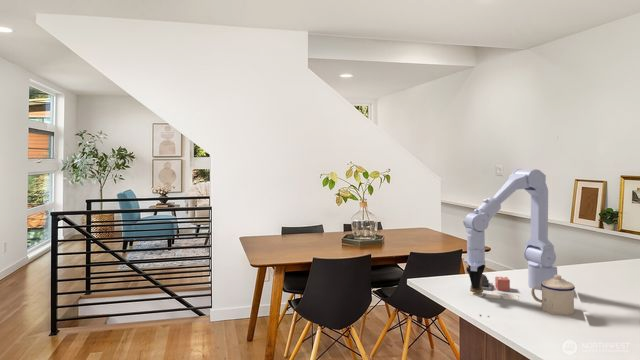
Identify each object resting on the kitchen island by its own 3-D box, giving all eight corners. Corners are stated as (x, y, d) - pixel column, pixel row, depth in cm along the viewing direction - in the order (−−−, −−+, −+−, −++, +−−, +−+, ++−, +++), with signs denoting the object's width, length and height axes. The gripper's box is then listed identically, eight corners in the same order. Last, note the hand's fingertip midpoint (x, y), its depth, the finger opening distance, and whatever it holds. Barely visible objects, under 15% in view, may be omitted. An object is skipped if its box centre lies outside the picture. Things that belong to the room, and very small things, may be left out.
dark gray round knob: (489, 285, 159) (489, 273, 158) (488, 289, 154) (488, 276, 154) (475, 284, 161) (475, 271, 160) (474, 287, 156) (473, 275, 156)
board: (521, 290, 155) (521, 285, 155) (520, 306, 139) (520, 300, 139) (468, 285, 163) (468, 280, 163) (462, 299, 147) (462, 294, 147)
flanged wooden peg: (483, 290, 151) (483, 274, 150) (482, 293, 147) (482, 277, 146) (470, 288, 152) (471, 272, 152) (469, 291, 149) (469, 275, 148)
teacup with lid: (577, 311, 133) (577, 274, 132) (570, 320, 126) (571, 281, 126) (535, 303, 141) (535, 268, 140) (527, 311, 134) (527, 274, 134)
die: (507, 287, 156) (507, 276, 156) (509, 291, 152) (509, 279, 152) (495, 287, 157) (495, 275, 156) (497, 290, 153) (497, 278, 153)
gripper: (466, 243, 157) (466, 280, 158) (460, 251, 144) (461, 291, 145) (487, 244, 154) (487, 282, 155) (483, 252, 141) (483, 293, 142)
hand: (476, 286), depth 150 cm, fingers closed on flanged wooden peg, 3 cm apart
